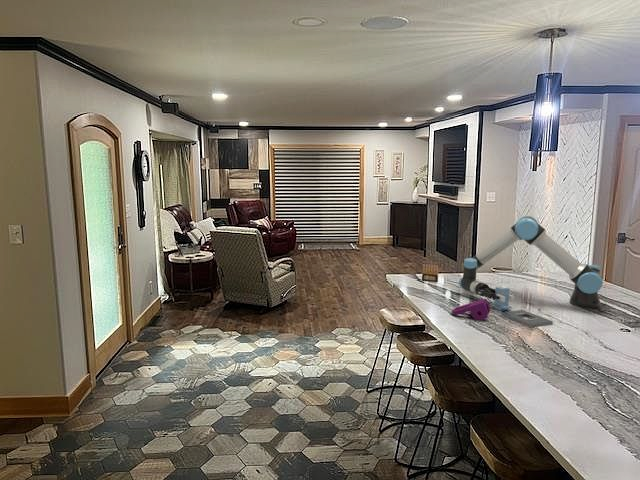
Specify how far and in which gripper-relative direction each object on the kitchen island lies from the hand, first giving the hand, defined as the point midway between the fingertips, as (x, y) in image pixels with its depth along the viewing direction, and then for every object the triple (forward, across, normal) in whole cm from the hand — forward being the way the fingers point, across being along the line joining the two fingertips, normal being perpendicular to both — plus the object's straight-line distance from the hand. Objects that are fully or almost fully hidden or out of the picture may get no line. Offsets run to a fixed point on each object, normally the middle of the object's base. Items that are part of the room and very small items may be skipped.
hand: (508, 299), depth 253 cm
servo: (-5, 0, -7) cm, 9 cm away
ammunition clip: (-73, 0, -7) cm, 73 cm away
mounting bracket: (-1, +25, -8) cm, 26 cm away
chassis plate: (+14, +1, -7) cm, 16 cm away
